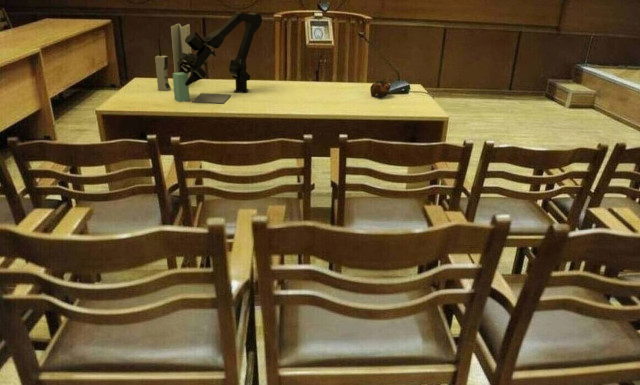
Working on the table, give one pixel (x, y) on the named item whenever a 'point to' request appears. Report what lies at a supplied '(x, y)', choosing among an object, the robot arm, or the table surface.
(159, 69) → the vintage mobile phone
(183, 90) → the teal block
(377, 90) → the decorative turtle
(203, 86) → the table surface
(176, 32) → the brochure
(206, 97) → the rubber mat
